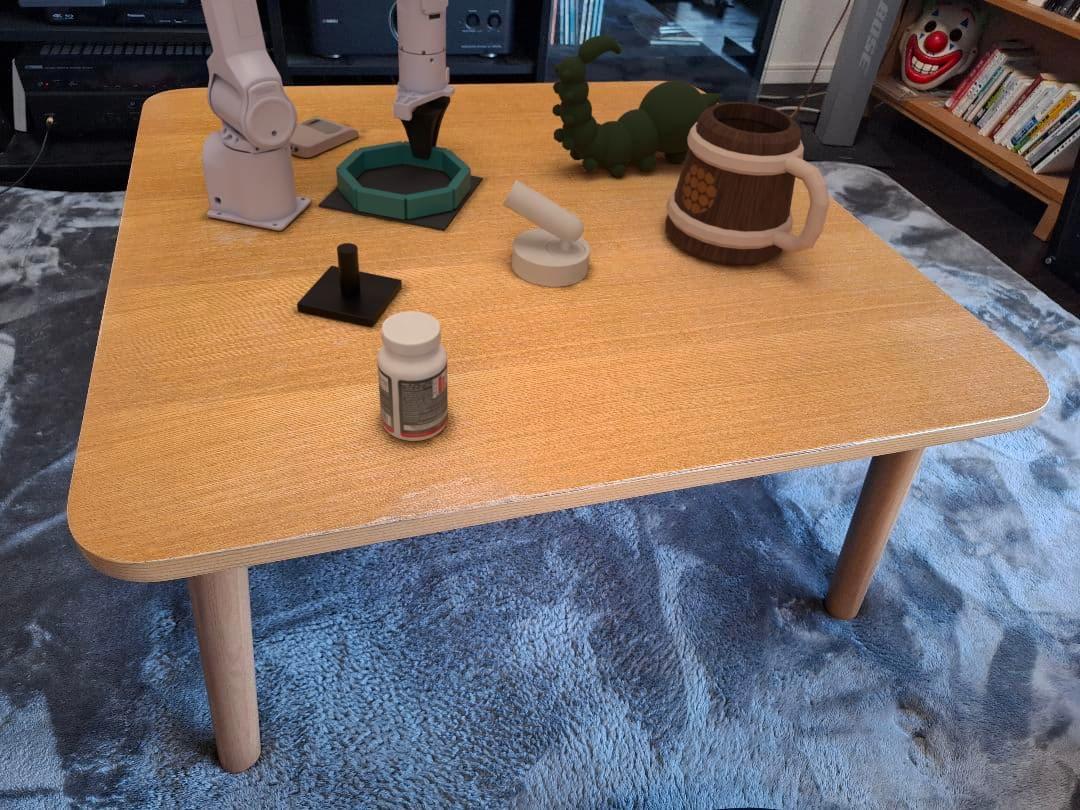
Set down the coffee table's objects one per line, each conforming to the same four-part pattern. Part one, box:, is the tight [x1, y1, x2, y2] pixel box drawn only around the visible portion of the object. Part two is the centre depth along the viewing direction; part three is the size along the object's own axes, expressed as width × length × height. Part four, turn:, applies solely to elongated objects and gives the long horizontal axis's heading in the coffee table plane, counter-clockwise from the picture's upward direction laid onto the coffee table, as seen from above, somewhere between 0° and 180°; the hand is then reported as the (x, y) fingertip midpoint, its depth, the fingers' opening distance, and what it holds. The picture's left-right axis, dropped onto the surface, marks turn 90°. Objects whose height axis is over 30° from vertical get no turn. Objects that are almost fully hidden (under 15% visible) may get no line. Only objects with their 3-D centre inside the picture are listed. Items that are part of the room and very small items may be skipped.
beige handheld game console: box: [290, 116, 360, 159], centre depth 117 cm, size 7×16×3 cm, turn 148°
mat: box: [318, 163, 483, 231], centre depth 108 cm, size 16×15×1 cm
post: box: [296, 242, 403, 328], centre depth 87 cm, size 8×8×6 cm
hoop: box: [335, 140, 472, 220], centre depth 107 cm, size 15×15×3 cm
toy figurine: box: [552, 34, 724, 178], centre depth 114 cm, size 9×19×25 cm
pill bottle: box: [376, 310, 449, 442], centre depth 72 cm, size 6×6×10 cm
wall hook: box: [502, 179, 591, 288], centre depth 94 cm, size 9×10×10 cm
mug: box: [664, 101, 830, 267], centre depth 99 cm, size 20×15×15 cm
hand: (423, 154), depth 112 cm, fingers closed on hoop
